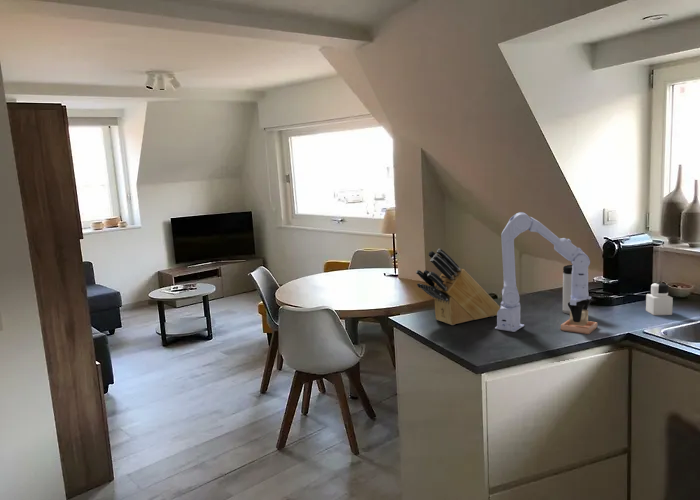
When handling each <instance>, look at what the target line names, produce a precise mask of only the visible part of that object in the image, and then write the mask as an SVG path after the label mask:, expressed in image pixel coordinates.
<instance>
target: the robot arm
mask: <svg viewBox="0 0 700 500" xmlns="http://www.w3.org/2000/svg"><path fill="white" fill-rule="evenodd" d="M526 231H529V232H532V233H537V234H539V235H540V236H542V237H543V238H544V239H545V240H547V241H548V242H550V243H551V244H552V245H553V250H554V251H555V252H557V253H558V254H559V255H561V256H562V257H563V258H564V259H565V260H567V261H569V262H570V263H571V265H572V279H571V299H570V302H569V303H568V306H569V308H570V310H571V313H572V317H573V321H574V322H580V320H581V314H582V310H583V309H584V310H588V308H589V305H590V304H591V303H592V296H590V294H589V266H590V264H591V260H590V257H589V256H588V255H587V254H586V253H585V252H584V251H583V250H582V248H581V247H578V246H576V245H575V244H573V243H572V240H571V239H570V238H566V237H562V238H561V237H558V236H557V235H556V234H555V233H553V232H552V230H550V229H549V228H548V227H547V226H546V225H544V224H543V223H542V222H540V221H539V220H537V219H536V218H534V217H532V216H529V215H528V214H527V213H525V212H523V211H519V212H517V213H515V214H514V215H512V216H511V217H510V218H509V220H508V222H507V224H506V225H505V226H504V228H503V230H502V232H501V234H500V236H501V237H500V238H501V239H500V240H501V255H502V258H501V259H502V272H503V273H502V275H503V277H502V278H503V287H502V289H501V302H500V309H499V310H498V312H497V315H496V326H495V327H494V329H495V330H500V331H507V332H511V333H512V332H513V333H514V332H517V331H518V330H520V329H522V328H523V327H525V323H524V324H523V323H521V302H520V299H521V298H520V295H519V290H518V287H517V278H516V257H515V256H516V255H515V239H516V238H517V237H518V236H519V235H520V234H522V233H524V232H526Z"/></svg>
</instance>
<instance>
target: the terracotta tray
mask: <svg viewBox="0 0 700 500" xmlns="http://www.w3.org/2000/svg"><path fill="white" fill-rule="evenodd" d="M596 329H598V321H597V322H596V321H589V320H588V323H587V324H586V325H585V326H578V325H571V324H570V318H569V319H567V320H566V321H564V322H562V323H561V324H560V331H565V332H571V333H575V334H585V335H590V334H591V333H592V332H594V331H595V330H596Z"/></svg>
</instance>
